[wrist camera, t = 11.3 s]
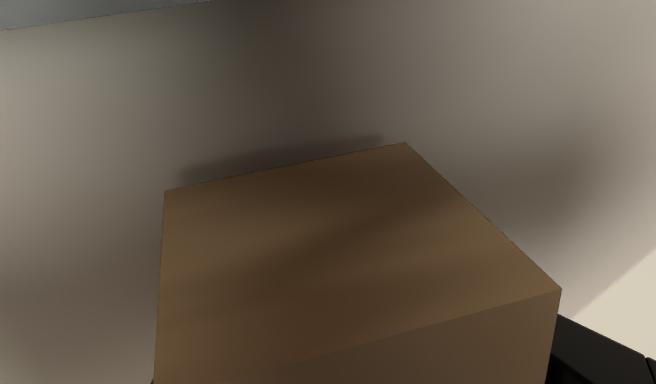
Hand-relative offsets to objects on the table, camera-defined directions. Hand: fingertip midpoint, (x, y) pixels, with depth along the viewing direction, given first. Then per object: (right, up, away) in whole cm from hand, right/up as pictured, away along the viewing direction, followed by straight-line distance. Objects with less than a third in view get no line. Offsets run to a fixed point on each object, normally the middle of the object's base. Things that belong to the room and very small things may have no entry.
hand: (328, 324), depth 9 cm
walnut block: (-1, +1, +2) cm, 2 cm away
